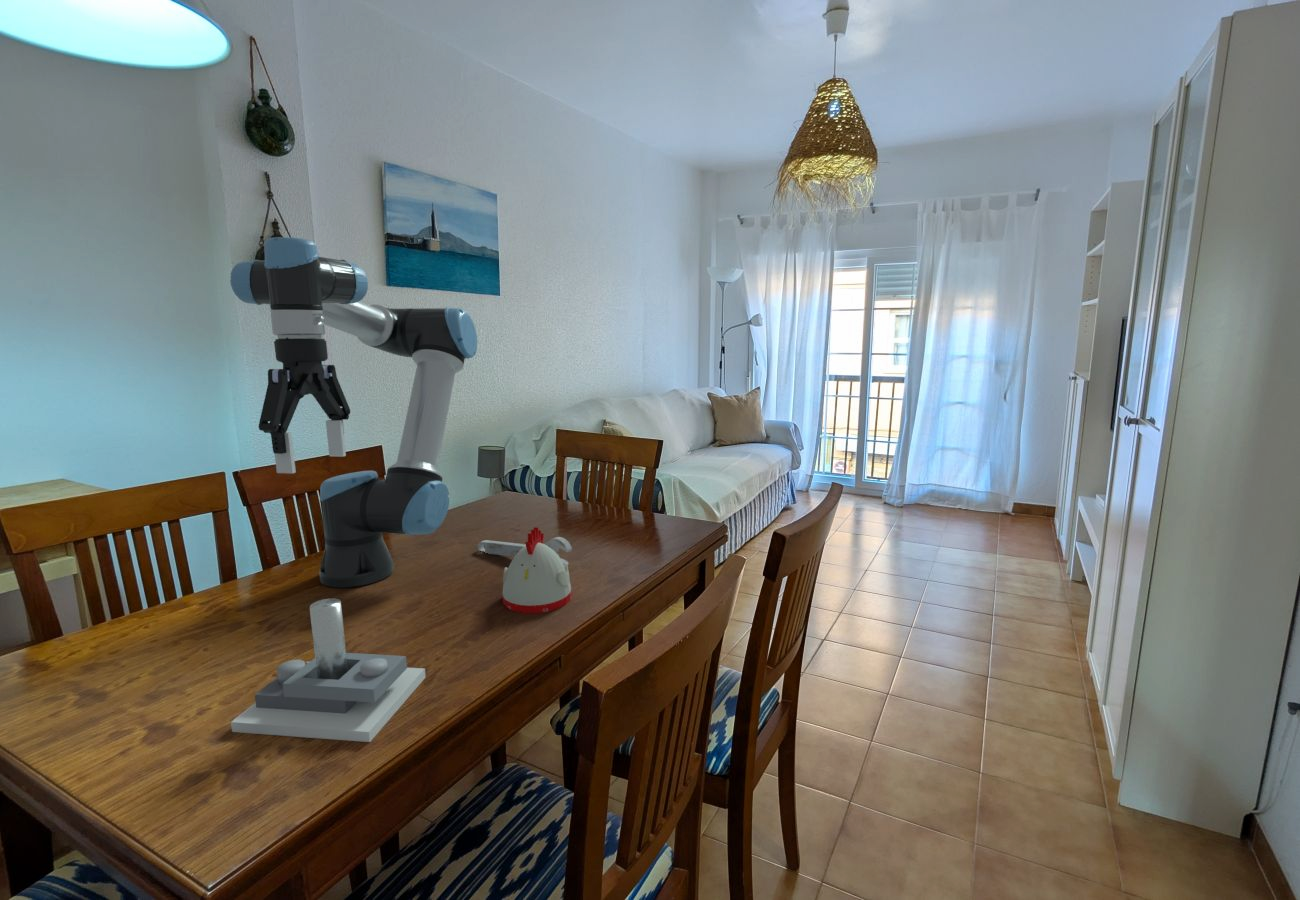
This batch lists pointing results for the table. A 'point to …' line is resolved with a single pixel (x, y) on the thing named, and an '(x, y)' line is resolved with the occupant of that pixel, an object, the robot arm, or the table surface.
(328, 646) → the pin
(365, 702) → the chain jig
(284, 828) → the table surface
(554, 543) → the wrench
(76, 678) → the table surface
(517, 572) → the kitchen timer
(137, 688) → the table surface
